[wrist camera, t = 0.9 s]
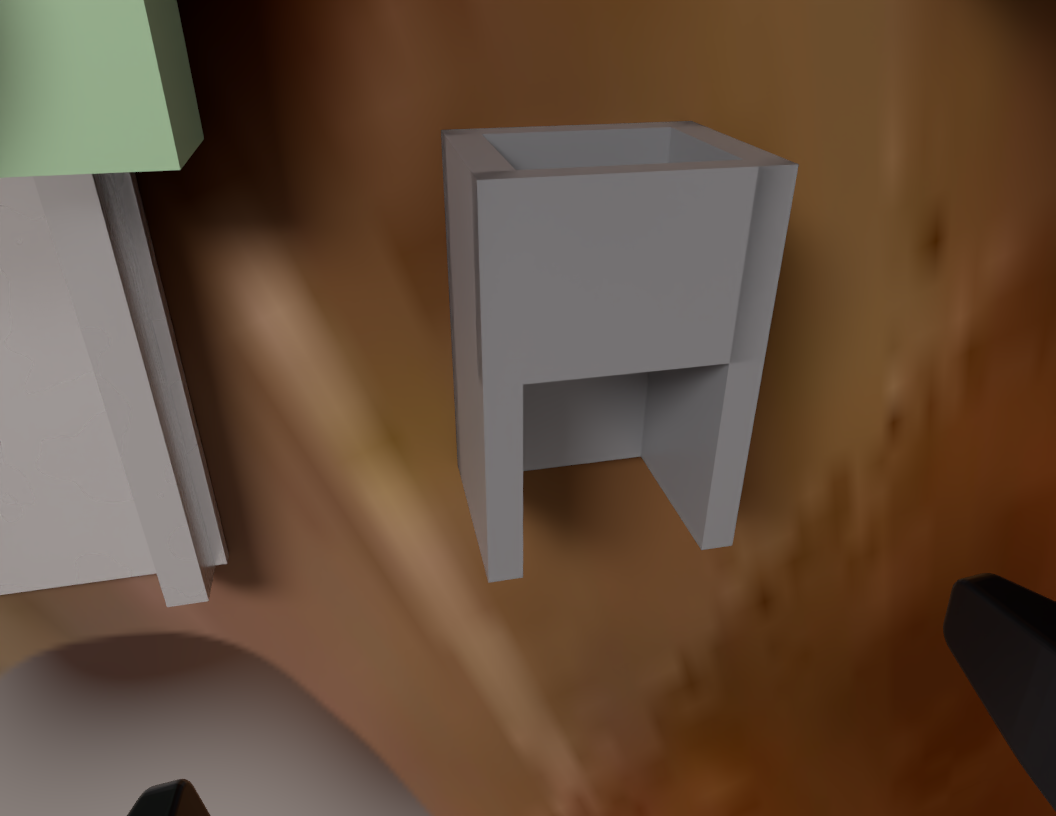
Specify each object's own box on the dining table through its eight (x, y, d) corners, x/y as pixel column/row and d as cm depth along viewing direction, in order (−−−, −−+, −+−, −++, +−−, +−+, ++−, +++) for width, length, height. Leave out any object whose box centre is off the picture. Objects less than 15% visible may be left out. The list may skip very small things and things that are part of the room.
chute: (689, 120, 18) (798, 164, 14) (657, 438, 23) (731, 545, 18) (440, 129, 17) (476, 179, 13) (457, 463, 22) (488, 582, 17)
